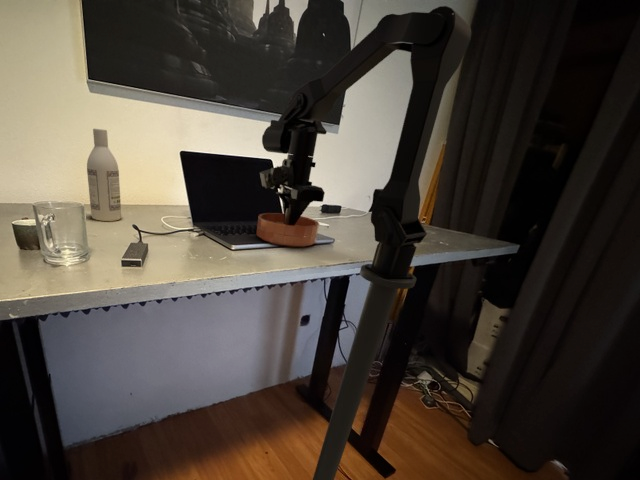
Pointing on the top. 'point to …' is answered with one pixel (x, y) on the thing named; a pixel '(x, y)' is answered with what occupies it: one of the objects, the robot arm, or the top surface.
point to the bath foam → (103, 180)
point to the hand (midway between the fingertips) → (288, 225)
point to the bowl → (287, 230)
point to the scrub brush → (286, 220)
